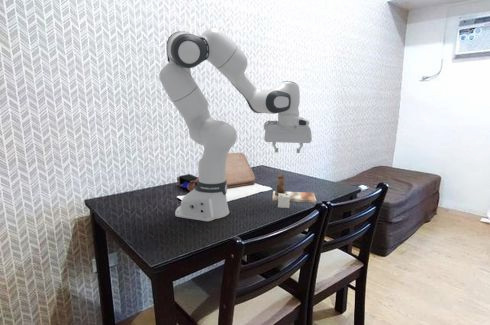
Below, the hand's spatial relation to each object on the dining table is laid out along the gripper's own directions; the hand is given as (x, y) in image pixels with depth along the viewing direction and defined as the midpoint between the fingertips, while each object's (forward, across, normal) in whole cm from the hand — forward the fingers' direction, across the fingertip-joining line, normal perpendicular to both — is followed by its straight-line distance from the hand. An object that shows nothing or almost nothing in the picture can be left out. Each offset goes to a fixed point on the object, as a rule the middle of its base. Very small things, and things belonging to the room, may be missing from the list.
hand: (287, 152), depth 130 cm
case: (+25, -31, +31) cm, 51 cm away
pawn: (+23, -3, +11) cm, 26 cm away
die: (+25, -1, -1) cm, 25 cm away
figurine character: (+24, -52, +14) cm, 59 cm away
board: (+25, +4, +11) cm, 27 cm away
